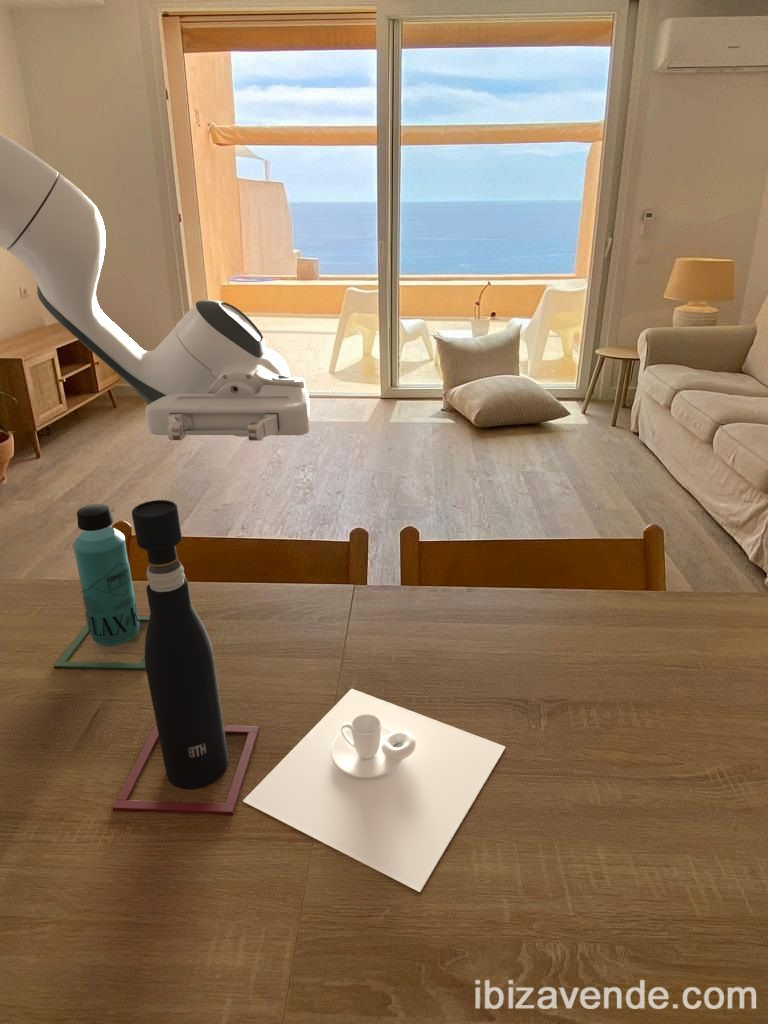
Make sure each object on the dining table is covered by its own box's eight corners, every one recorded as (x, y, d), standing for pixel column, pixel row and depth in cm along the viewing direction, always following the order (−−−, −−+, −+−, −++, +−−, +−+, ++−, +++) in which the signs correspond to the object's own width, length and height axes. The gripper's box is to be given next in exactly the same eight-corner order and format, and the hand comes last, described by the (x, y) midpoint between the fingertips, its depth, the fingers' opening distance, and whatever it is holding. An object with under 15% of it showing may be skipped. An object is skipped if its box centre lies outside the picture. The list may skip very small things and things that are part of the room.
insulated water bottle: (197, 737, 77) (156, 489, 65) (241, 758, 74) (207, 502, 62) (153, 774, 72) (99, 514, 60) (198, 799, 69) (151, 529, 57)
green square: (54, 668, 89) (53, 665, 89) (94, 617, 100) (94, 614, 100) (145, 670, 89) (144, 668, 88) (176, 618, 99) (175, 616, 99)
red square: (112, 810, 68) (112, 807, 68) (155, 726, 79) (155, 723, 79) (232, 814, 68) (232, 811, 67) (259, 728, 79) (259, 726, 78)
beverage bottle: (82, 652, 92) (51, 516, 84) (112, 624, 98) (86, 495, 89) (125, 660, 91) (98, 523, 82) (153, 631, 96) (131, 500, 88)
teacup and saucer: (424, 745, 76) (424, 716, 74) (387, 795, 69) (386, 764, 68) (356, 718, 80) (355, 690, 78) (315, 763, 74) (313, 733, 72)
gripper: (163, 378, 92) (121, 407, 79) (316, 378, 91) (298, 407, 78) (169, 424, 95) (130, 459, 82) (318, 424, 93) (302, 460, 81)
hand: (213, 434), depth 80 cm, fingers open, 8 cm apart
